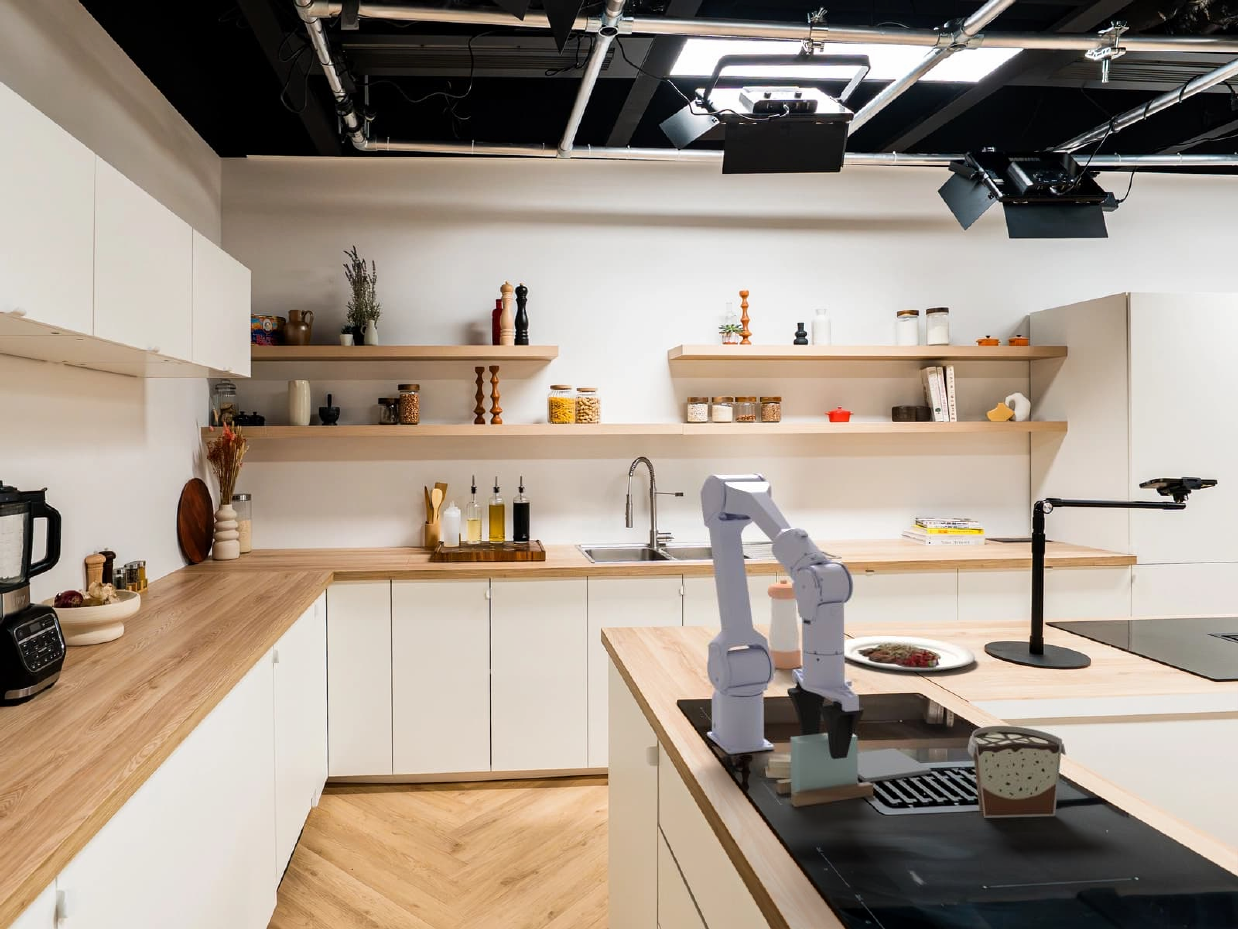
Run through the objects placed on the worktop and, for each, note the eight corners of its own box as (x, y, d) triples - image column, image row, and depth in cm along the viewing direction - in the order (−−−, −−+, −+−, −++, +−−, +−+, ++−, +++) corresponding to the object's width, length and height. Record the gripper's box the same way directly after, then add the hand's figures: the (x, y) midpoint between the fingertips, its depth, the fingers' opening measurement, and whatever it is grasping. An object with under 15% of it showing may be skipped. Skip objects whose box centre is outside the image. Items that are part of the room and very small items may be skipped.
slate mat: (832, 760, 125) (832, 756, 125) (894, 752, 128) (894, 748, 128) (865, 782, 116) (865, 778, 116) (931, 773, 119) (931, 769, 119)
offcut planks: (764, 772, 122) (764, 754, 122) (832, 774, 121) (832, 756, 121) (766, 779, 119) (766, 761, 119) (836, 782, 118) (835, 763, 118)
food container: (1040, 795, 111) (1039, 723, 111) (1066, 815, 105) (1065, 739, 105) (951, 798, 111) (951, 725, 111) (972, 818, 105) (972, 741, 105)
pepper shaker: (798, 660, 185) (797, 577, 185) (802, 669, 178) (801, 582, 178) (766, 660, 186) (765, 577, 186) (769, 668, 178) (768, 582, 178)
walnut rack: (776, 791, 114) (776, 780, 114) (851, 780, 117) (851, 770, 117) (794, 806, 109) (794, 795, 109) (873, 795, 112) (872, 784, 112)
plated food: (892, 638, 208) (892, 625, 208) (1002, 662, 182) (1002, 647, 182) (809, 655, 191) (809, 641, 191) (918, 684, 166) (918, 668, 166)
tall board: (791, 794, 113) (790, 737, 113) (848, 786, 115) (847, 730, 115) (799, 801, 110) (799, 743, 110) (857, 793, 113) (857, 736, 113)
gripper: (878, 660, 107) (879, 763, 107) (822, 637, 121) (823, 728, 121) (831, 664, 105) (832, 769, 105) (779, 641, 119) (780, 733, 119)
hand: (824, 748), depth 113 cm, fingers open, 7 cm apart
